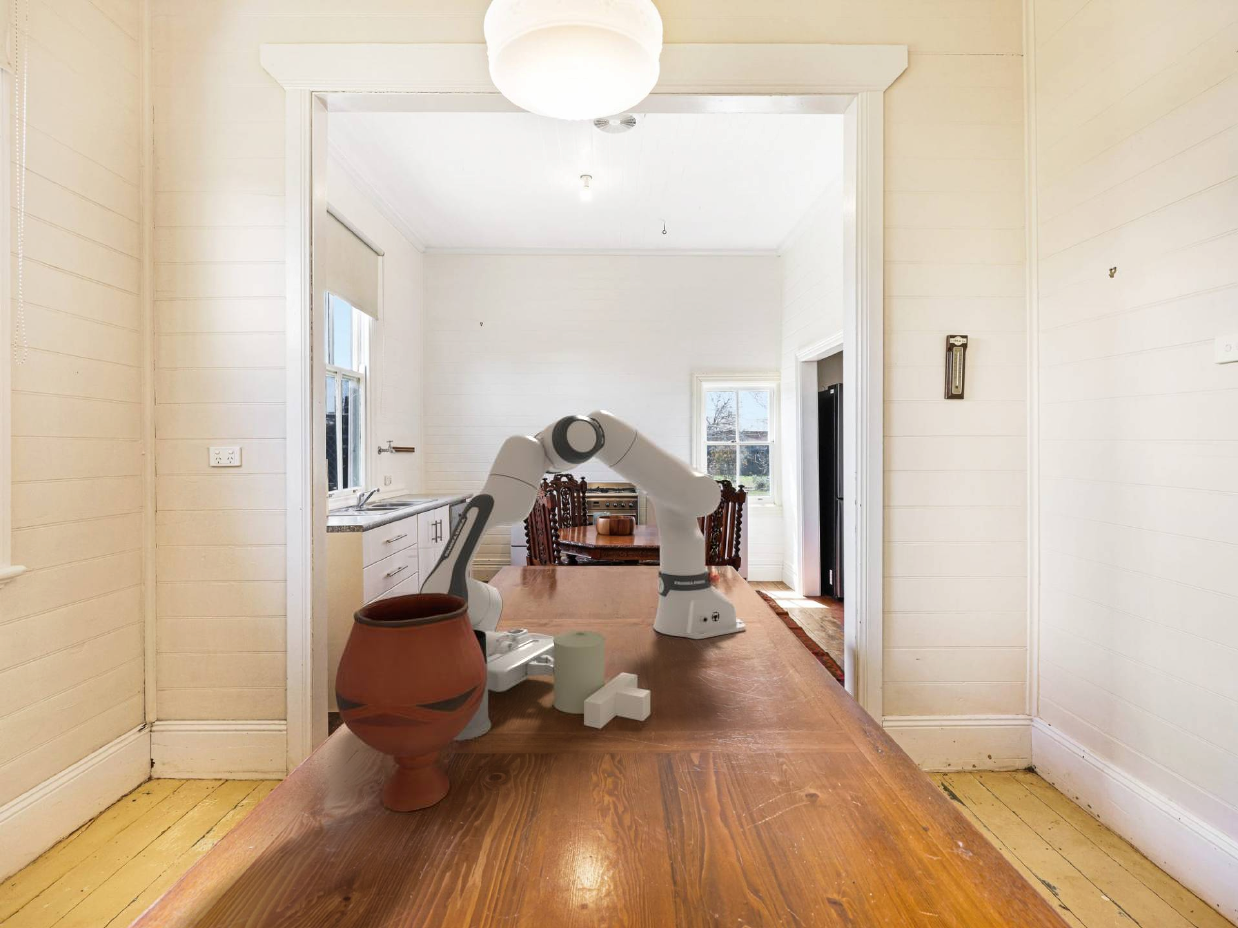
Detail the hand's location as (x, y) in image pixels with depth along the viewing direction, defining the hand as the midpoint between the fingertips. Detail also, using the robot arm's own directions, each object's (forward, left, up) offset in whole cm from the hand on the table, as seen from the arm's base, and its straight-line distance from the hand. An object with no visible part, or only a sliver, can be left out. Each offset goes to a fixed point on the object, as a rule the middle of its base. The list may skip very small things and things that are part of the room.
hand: (557, 668), depth 113 cm
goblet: (+25, +23, -6) cm, 34 cm away
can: (-3, +3, -6) cm, 7 cm away
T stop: (-9, +9, -5) cm, 15 cm away
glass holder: (+19, +8, -6) cm, 21 cm away
